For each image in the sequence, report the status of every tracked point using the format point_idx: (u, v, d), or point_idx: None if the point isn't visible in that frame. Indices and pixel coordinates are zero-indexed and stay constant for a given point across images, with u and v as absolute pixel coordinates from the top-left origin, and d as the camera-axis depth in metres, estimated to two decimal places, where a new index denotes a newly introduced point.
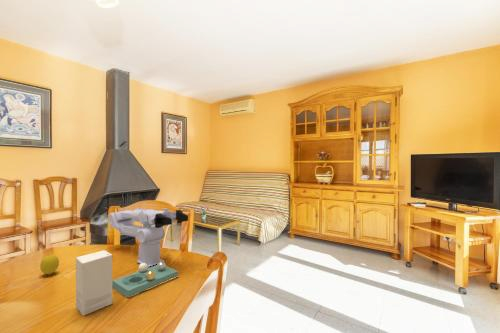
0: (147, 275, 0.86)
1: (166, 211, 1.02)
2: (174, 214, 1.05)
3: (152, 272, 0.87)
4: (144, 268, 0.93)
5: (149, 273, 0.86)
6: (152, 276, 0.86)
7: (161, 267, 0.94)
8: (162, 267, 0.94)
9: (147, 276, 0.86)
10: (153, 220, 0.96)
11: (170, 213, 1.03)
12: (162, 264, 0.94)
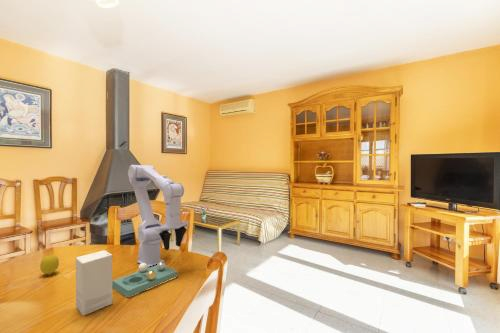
0: (148, 274, 0.86)
1: None
2: None
3: (153, 272, 0.87)
4: (144, 268, 0.93)
5: (150, 272, 0.86)
6: (153, 276, 0.86)
7: (161, 267, 0.94)
8: (162, 267, 0.94)
9: (148, 275, 0.86)
10: None
11: None
12: (162, 264, 0.94)
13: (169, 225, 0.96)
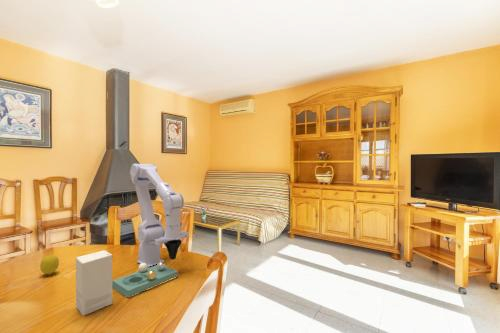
0: (148, 274, 0.86)
1: None
2: None
3: (153, 272, 0.87)
4: (144, 268, 0.93)
5: (150, 272, 0.86)
6: (153, 276, 0.86)
7: (161, 267, 0.94)
8: (162, 267, 0.94)
9: (148, 275, 0.86)
10: None
11: None
12: (162, 264, 0.94)
13: (169, 236, 0.96)
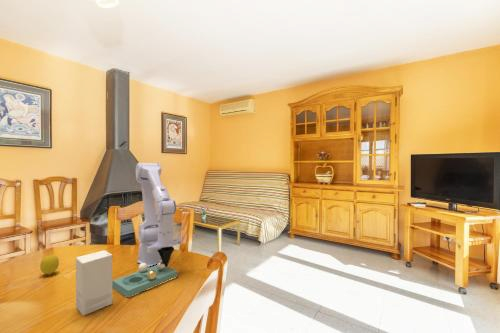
0: (149, 273, 0.86)
1: None
2: None
3: (154, 272, 0.87)
4: (144, 268, 0.93)
5: (151, 272, 0.87)
6: (153, 275, 0.86)
7: (161, 268, 0.94)
8: (162, 267, 0.94)
9: (149, 274, 0.86)
10: None
11: None
12: (161, 265, 0.94)
13: (161, 243, 0.94)
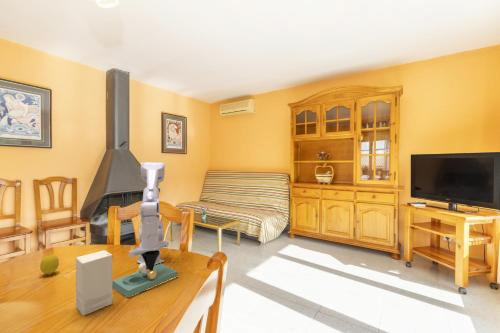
0: (149, 273, 0.86)
1: None
2: None
3: (155, 271, 0.87)
4: None
5: (152, 271, 0.87)
6: (154, 275, 0.86)
7: (149, 270, 0.90)
8: (148, 271, 0.89)
9: (149, 274, 0.86)
10: None
11: None
12: None
13: (145, 247, 0.88)
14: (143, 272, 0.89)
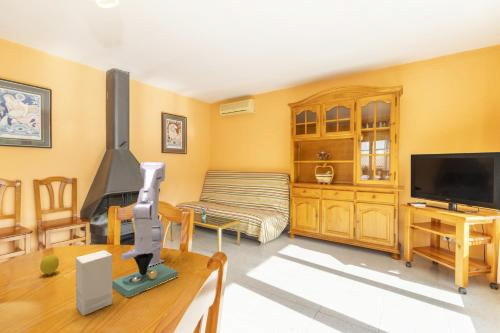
0: (150, 272, 0.87)
1: None
2: None
3: (155, 271, 0.88)
4: None
5: (152, 271, 0.87)
6: (154, 275, 0.87)
7: None
8: None
9: (150, 273, 0.86)
10: None
11: None
12: (137, 279, 0.87)
13: (138, 250, 0.86)
14: None
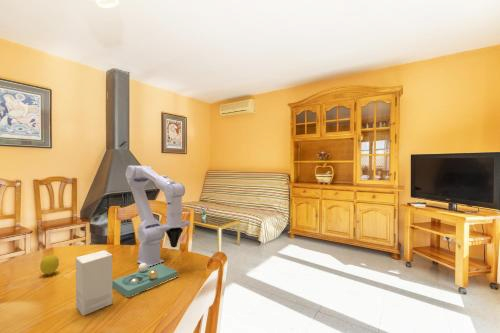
0: (151, 272, 0.87)
1: None
2: None
3: (156, 271, 0.88)
4: (144, 268, 0.93)
5: (153, 271, 0.87)
6: (155, 275, 0.87)
7: None
8: None
9: (150, 273, 0.87)
10: None
11: None
12: None
13: (170, 224, 0.97)
14: None
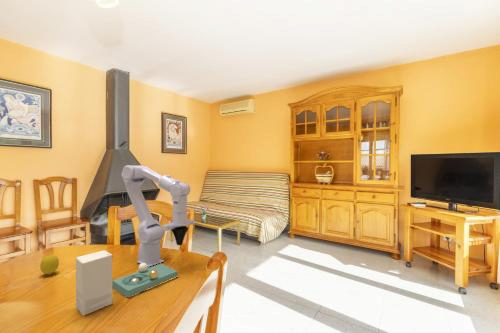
0: (152, 271, 0.87)
1: None
2: None
3: (157, 271, 0.88)
4: (144, 268, 0.93)
5: (154, 270, 0.88)
6: (155, 275, 0.87)
7: None
8: None
9: (151, 272, 0.87)
10: None
11: None
12: None
13: (176, 223, 1.00)
14: None
